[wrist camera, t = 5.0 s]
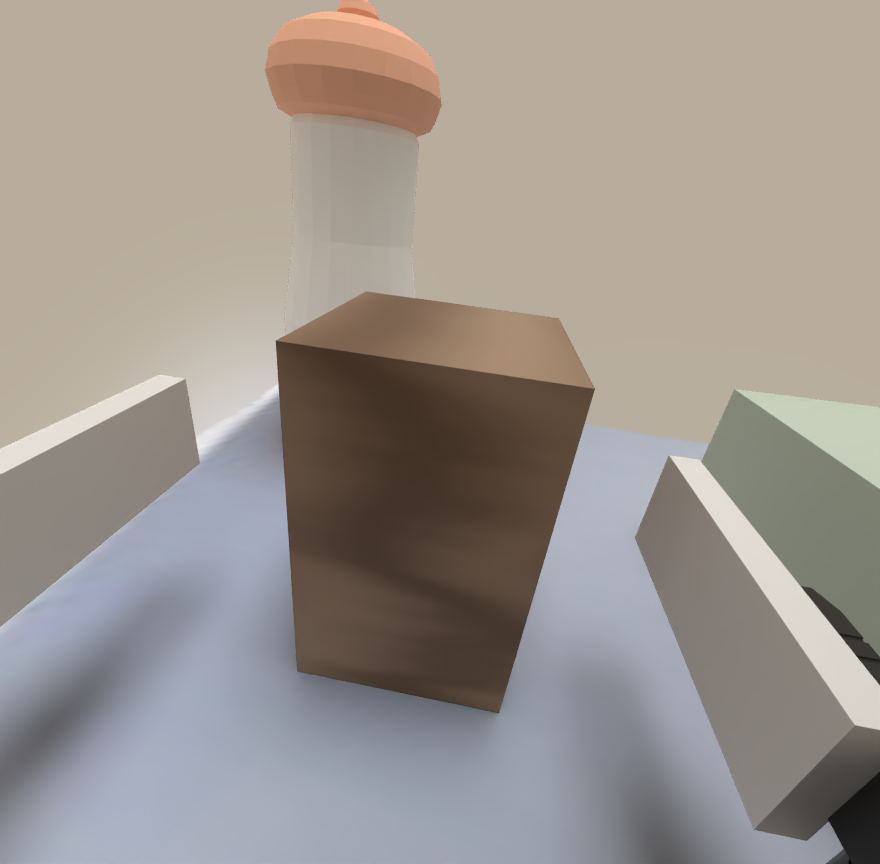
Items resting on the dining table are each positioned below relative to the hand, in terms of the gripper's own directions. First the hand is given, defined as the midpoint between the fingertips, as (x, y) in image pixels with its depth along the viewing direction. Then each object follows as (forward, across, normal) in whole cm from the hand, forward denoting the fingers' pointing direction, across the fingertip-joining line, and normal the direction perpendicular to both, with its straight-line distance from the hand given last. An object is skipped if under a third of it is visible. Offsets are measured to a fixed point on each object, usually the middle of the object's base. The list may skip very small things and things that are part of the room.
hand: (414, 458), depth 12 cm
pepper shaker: (+12, -5, -6) cm, 14 cm away
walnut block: (0, 0, -6) cm, 6 cm away
